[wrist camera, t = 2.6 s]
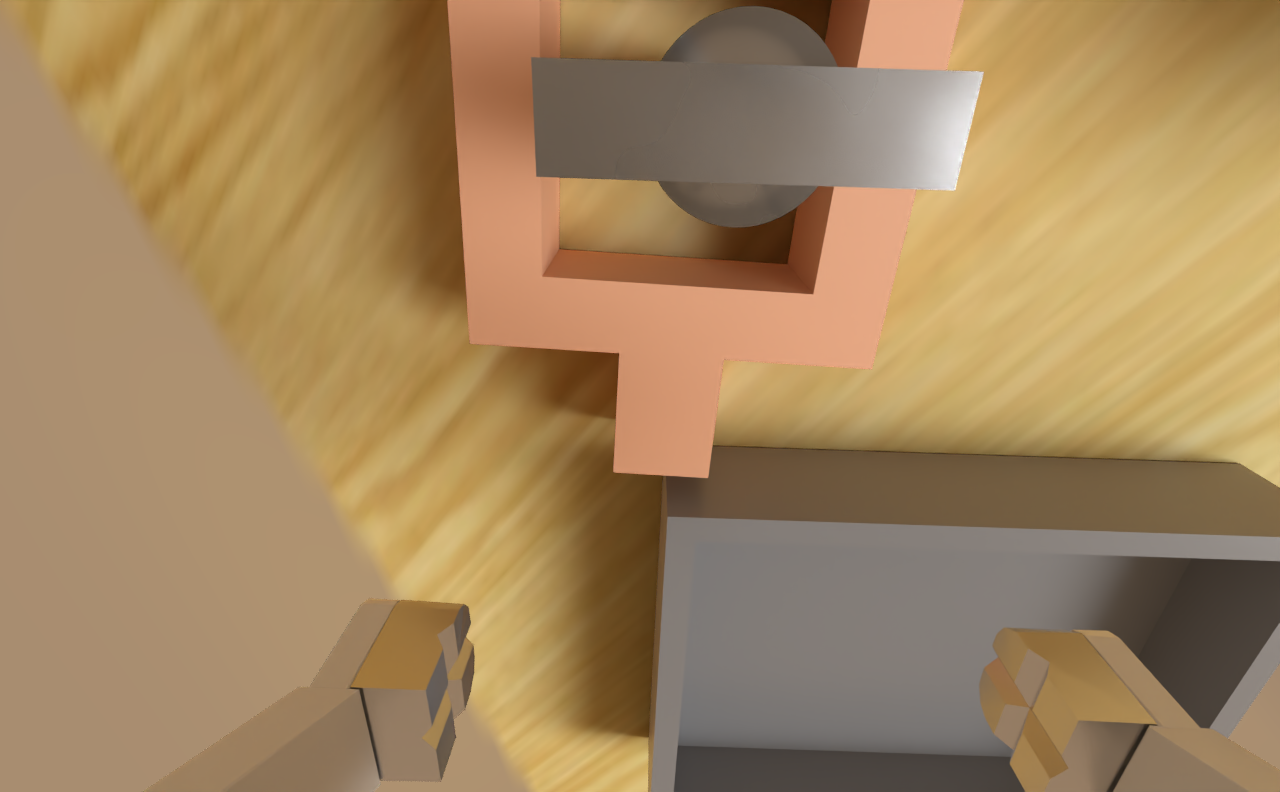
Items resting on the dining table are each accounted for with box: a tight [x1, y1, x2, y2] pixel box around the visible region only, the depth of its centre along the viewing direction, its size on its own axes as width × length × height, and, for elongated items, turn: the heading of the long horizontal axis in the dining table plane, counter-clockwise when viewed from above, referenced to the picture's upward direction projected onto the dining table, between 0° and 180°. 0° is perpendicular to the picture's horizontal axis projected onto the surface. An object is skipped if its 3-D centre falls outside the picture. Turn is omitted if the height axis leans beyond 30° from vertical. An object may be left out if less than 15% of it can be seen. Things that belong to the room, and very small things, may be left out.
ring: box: [447, 0, 964, 478], centre depth 15 cm, size 14×10×3 cm
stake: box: [531, 6, 984, 227], centre depth 11 cm, size 2×5×10 cm, turn 88°
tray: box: [648, 446, 1280, 792], centre depth 21 cm, size 15×19×4 cm
